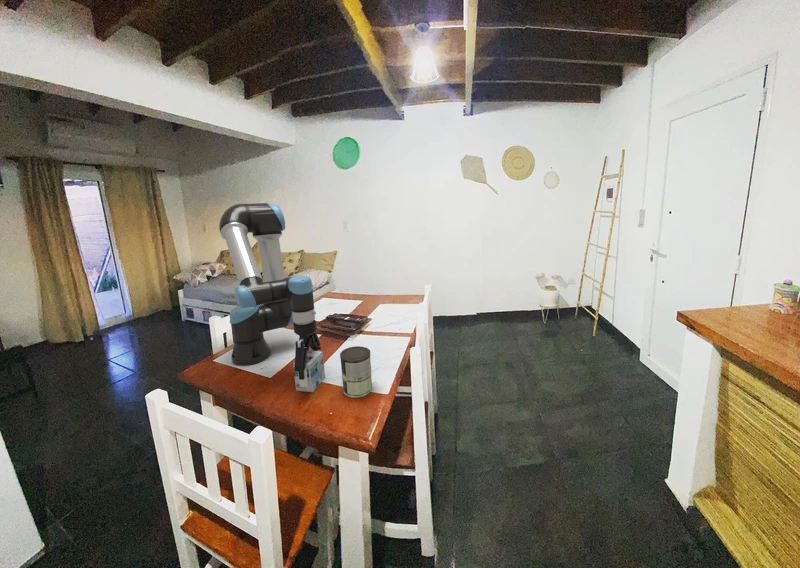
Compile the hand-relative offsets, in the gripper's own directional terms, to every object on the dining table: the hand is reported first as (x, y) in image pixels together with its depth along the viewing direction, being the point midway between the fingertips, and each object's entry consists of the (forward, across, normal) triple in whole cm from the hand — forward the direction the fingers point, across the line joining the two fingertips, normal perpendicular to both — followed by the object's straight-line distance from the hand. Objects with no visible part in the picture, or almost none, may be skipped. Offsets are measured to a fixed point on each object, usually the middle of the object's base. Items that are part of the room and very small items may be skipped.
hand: (310, 375), depth 114 cm
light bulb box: (+3, 0, 0) cm, 3 cm away
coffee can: (+4, -3, -18) cm, 18 cm away
